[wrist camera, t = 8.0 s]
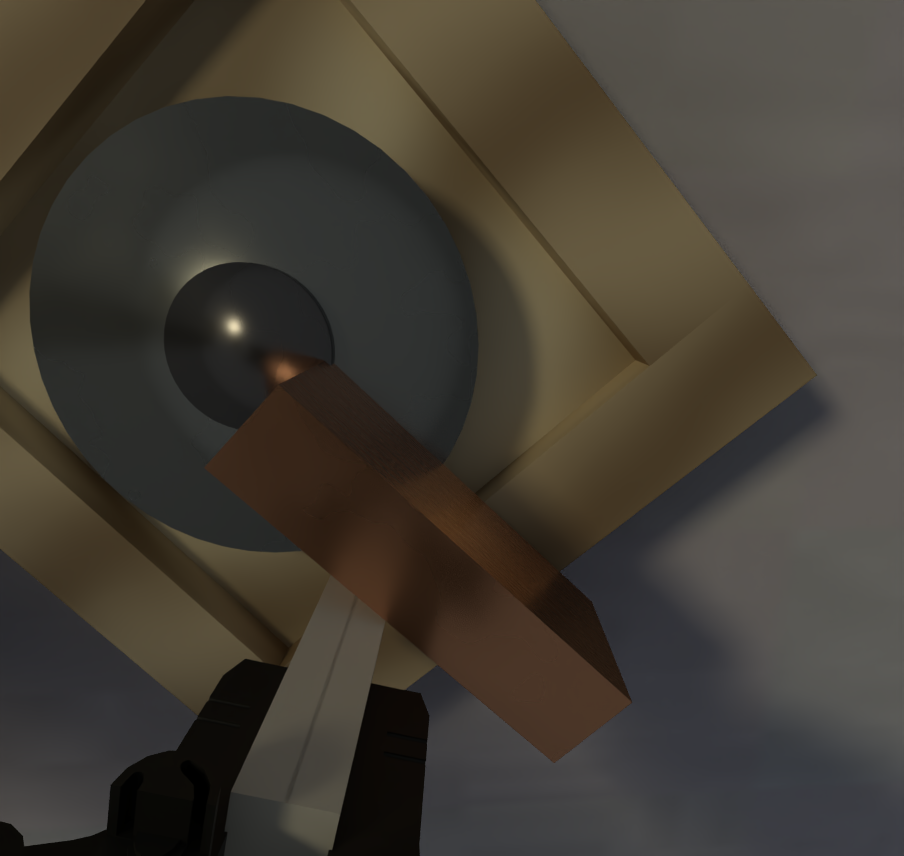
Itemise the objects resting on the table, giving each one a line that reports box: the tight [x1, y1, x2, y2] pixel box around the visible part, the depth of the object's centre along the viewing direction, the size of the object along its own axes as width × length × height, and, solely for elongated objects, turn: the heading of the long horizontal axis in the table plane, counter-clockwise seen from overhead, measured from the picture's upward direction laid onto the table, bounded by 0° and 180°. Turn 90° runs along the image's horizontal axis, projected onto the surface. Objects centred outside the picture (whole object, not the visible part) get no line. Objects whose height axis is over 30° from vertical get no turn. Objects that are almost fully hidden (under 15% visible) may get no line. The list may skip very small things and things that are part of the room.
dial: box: [29, 96, 632, 763], centre depth 13 cm, size 16×11×5 cm, turn 46°
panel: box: [0, 0, 817, 715], centre depth 15 cm, size 20×20×3 cm
